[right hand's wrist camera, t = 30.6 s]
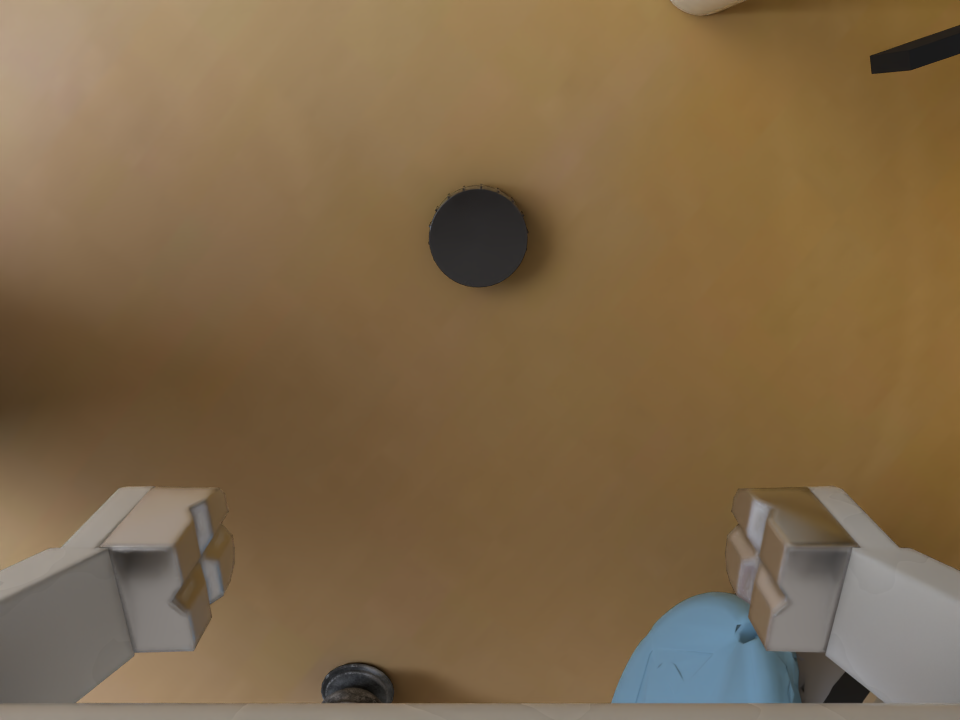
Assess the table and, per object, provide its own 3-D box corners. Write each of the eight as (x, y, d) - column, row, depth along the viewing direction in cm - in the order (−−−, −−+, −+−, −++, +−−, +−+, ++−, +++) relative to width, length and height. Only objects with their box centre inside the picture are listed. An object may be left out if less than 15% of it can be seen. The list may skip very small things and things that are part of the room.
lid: (546, 231, 35) (549, 237, 33) (479, 299, 36) (479, 308, 35) (476, 162, 34) (476, 165, 32) (410, 235, 35) (406, 241, 33)
